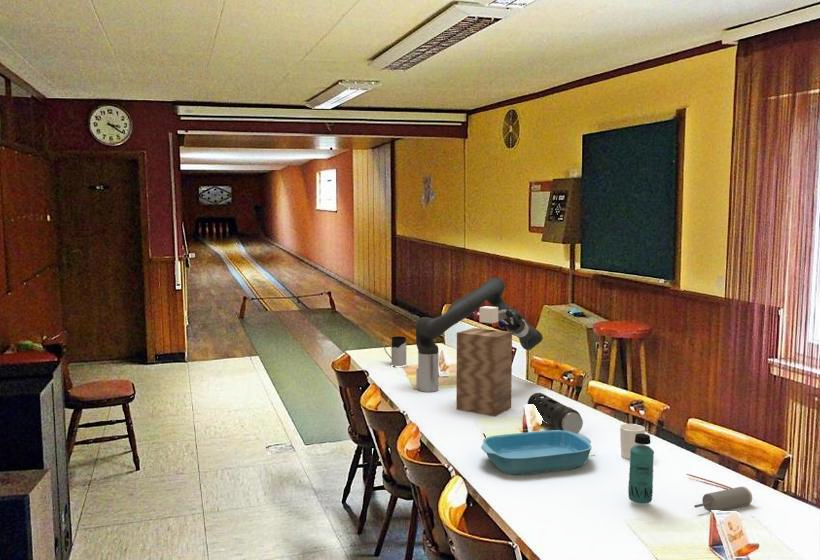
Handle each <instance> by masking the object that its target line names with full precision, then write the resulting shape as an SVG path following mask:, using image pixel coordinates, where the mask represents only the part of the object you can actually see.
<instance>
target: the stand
mask: <svg viewBox="0 0 820 560" xmlns="http://www.w3.org/2000/svg"><path fill="white" fill-rule="evenodd" d="M512 363H513V333H512V332H511V331H506V330H497V329H489V328H488V329H486V328H479V327H472V328H468V329H466V330H461V331H457V332H456V402H455V403H456V405H455V406H456V410H458V411H462V412H463V411H464V412H468V413H469V412H470V413H475V414H481V415H484V416H491V417H497V416H499V415H501V414H503V413H504V412H507V411H509V410H510V409H511V410H512V382H513V381H512V377H513V375H512V371H513V370H512V369H513V368H512V366H513V364H512Z"/></svg>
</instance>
